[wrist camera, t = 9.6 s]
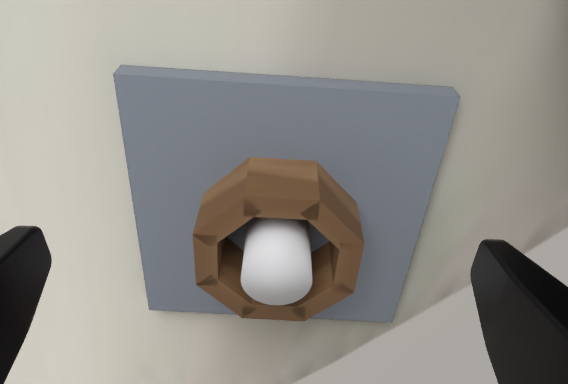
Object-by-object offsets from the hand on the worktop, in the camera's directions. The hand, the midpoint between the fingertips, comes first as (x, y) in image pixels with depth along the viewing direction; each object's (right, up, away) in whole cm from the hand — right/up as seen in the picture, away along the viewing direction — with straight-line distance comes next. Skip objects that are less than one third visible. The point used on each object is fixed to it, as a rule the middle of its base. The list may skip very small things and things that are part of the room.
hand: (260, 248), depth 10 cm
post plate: (0, 0, +14) cm, 14 cm away
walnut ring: (0, 0, +13) cm, 13 cm away
